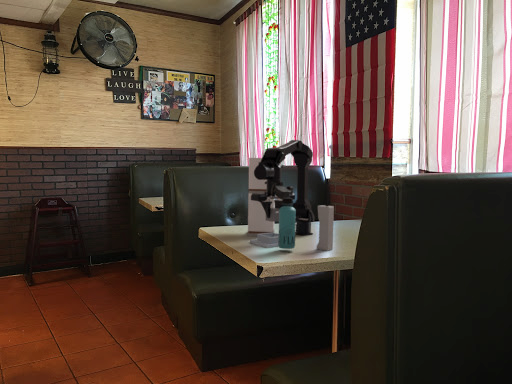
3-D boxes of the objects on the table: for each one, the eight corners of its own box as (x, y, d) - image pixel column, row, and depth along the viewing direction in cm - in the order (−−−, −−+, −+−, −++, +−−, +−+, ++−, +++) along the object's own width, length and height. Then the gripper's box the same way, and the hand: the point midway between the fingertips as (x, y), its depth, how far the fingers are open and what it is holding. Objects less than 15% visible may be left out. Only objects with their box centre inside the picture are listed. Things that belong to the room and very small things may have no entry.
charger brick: (273, 219, 163) (273, 207, 162) (280, 221, 159) (281, 208, 158) (265, 220, 161) (265, 207, 160) (273, 221, 156) (273, 209, 156)
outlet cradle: (276, 239, 169) (276, 231, 169) (294, 244, 159) (295, 235, 159) (249, 242, 161) (249, 234, 161) (267, 247, 151) (267, 238, 151)
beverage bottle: (281, 253, 143) (282, 198, 141) (275, 249, 149) (276, 196, 148) (297, 252, 144) (299, 198, 143) (291, 248, 151) (292, 196, 149)
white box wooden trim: (274, 232, 187) (275, 158, 184) (273, 236, 176) (274, 158, 174) (250, 231, 188) (251, 158, 185) (247, 235, 177) (249, 157, 175)
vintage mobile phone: (321, 247, 154) (323, 183, 152) (332, 249, 151) (334, 184, 149) (316, 249, 151) (318, 184, 149) (327, 251, 148) (329, 184, 146)
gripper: (267, 180, 147) (266, 221, 148) (304, 179, 157) (303, 218, 158) (250, 179, 156) (249, 218, 157) (286, 178, 166) (285, 215, 168)
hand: (273, 217), depth 160 cm, fingers closed on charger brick, 4 cm apart
